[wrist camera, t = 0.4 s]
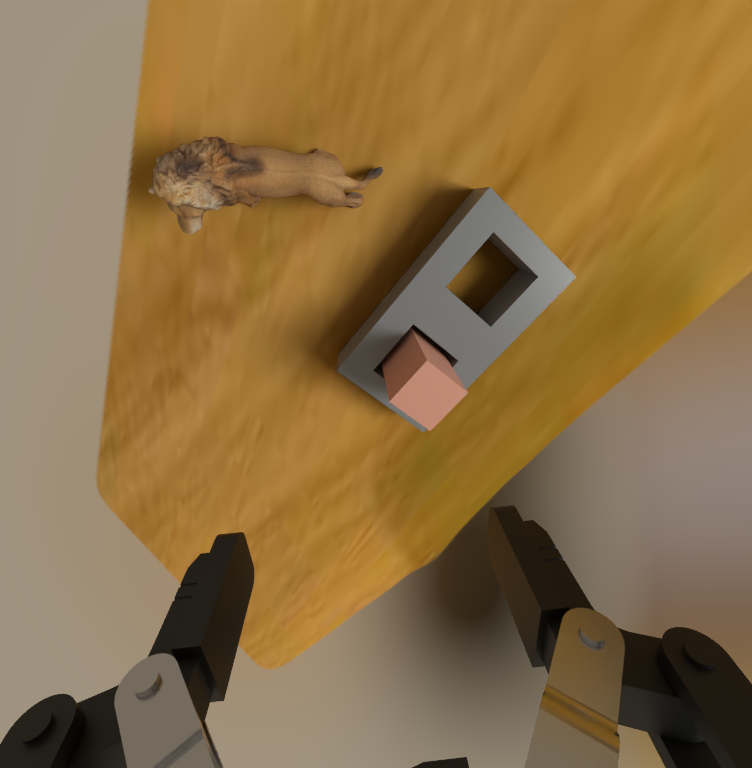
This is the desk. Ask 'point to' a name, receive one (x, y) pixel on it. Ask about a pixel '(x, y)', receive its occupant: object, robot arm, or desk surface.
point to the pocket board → (447, 312)
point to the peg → (421, 379)
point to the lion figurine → (247, 178)
